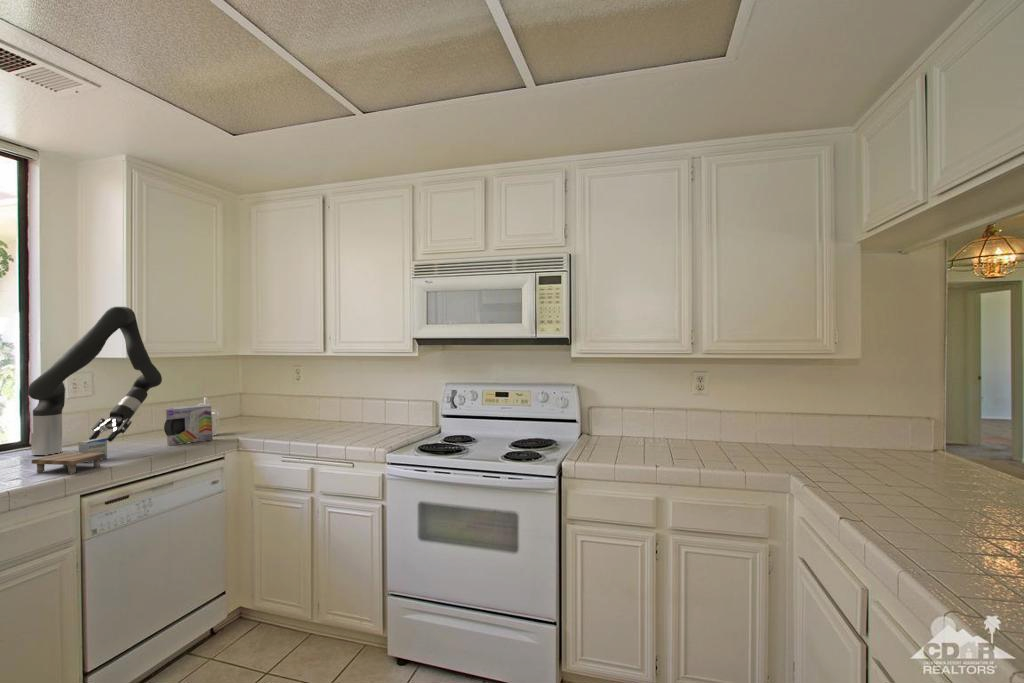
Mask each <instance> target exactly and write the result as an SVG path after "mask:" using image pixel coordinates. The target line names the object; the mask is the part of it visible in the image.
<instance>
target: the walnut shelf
mask: <svg viewBox="0 0 1024 683" xmlns="http://www.w3.org/2000/svg"><path fill="white" fill-rule="evenodd" d="M104 457H105V453H79V452H74V451H73V452H70V451H69V452H67V451H66V452H61V453H58V454H52V455H45V456H41V457H38V458H32V459H31V464H33V465H36V473H37V472H42V473H44V472H45V465H53V466H54V465H55V466H56V465H58V466H59V465H61V466H62V467H63V466H65V467H68V475H72V474H71V473H74V474H76V473H77V465H79V464H84V463H83V462H88V461H92V460H94V462H93V468H94V467H97V468H101V460H100V458H104ZM67 465H68V466H67ZM43 471H44V472H43ZM75 472H76V473H75Z"/></svg>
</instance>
